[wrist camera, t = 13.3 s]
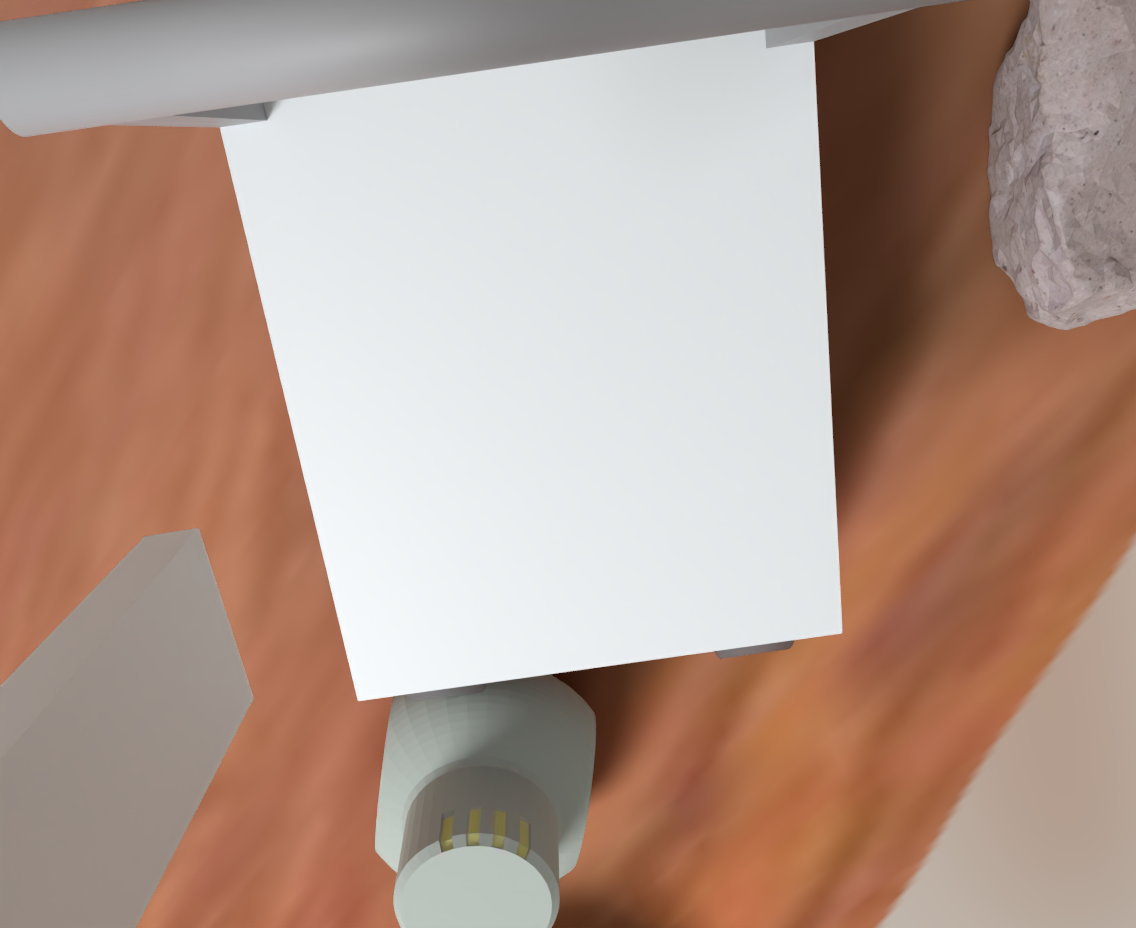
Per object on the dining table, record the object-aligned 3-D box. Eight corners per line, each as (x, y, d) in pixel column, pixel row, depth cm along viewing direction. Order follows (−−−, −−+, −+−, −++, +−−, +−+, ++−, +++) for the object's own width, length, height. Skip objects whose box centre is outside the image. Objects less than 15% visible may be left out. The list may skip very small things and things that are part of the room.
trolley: (716, -79, 33) (1031, -434, 12) (766, 578, 41) (1006, 1027, 20) (282, -15, 33) (-127, -262, 12) (417, 627, 41) (307, 1123, 21)
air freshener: (561, 845, 45) (570, 1033, 36) (384, 829, 45) (346, 1017, 35) (597, 640, 42) (618, 789, 32) (406, 619, 41) (369, 765, 32)
